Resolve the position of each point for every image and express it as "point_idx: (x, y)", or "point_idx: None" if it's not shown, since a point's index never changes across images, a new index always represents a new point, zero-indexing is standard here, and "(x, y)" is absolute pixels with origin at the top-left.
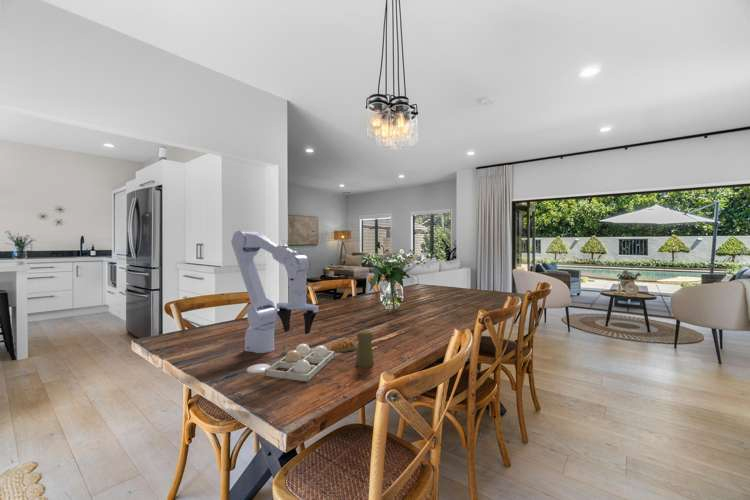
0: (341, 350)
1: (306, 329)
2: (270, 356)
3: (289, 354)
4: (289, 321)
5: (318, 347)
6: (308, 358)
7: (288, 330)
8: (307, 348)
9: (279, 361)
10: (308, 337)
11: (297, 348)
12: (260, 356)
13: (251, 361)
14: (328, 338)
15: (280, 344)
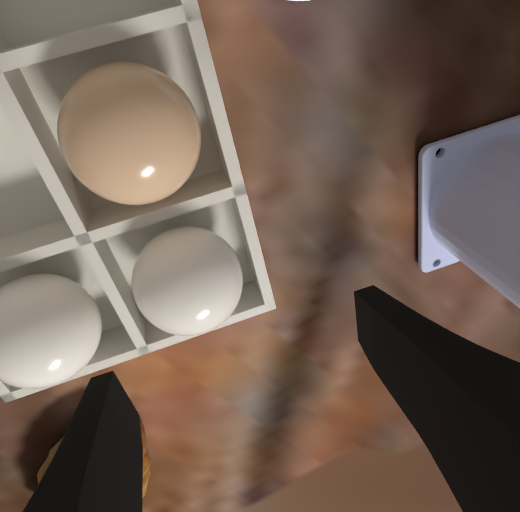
0: (59, 443)
1: (77, 421)
2: (398, 163)
3: (119, 93)
4: (412, 420)
5: (26, 344)
6: (68, 231)
7: (358, 329)
8: (141, 302)
9: (183, 15)
10: (374, 436)
11: (207, 257)
12: (456, 126)
13: (464, 21)
14: (281, 481)
15: (448, 312)
